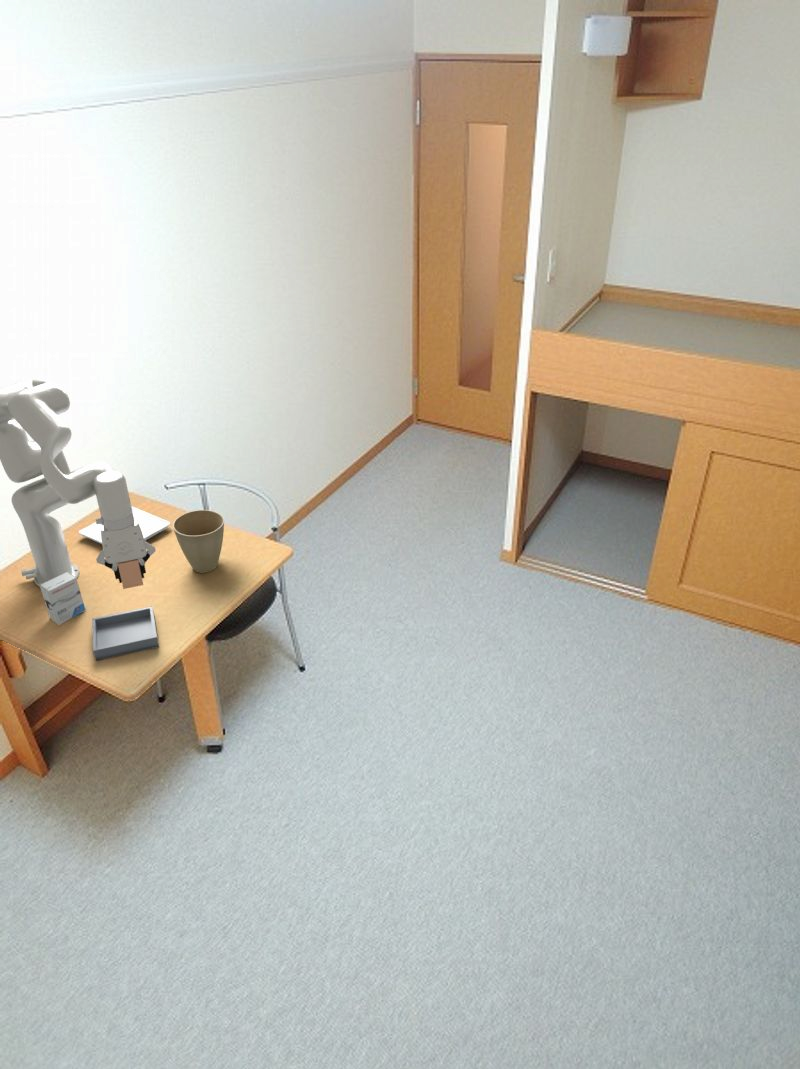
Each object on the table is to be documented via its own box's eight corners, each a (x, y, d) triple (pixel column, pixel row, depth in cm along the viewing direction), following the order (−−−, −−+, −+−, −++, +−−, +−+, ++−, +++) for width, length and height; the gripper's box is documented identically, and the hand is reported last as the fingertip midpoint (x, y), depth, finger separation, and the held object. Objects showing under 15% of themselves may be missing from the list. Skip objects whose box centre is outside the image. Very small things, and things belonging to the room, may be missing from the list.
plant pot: (192, 586, 224) (184, 541, 215) (173, 562, 234) (165, 519, 225) (238, 569, 231) (232, 525, 223) (217, 547, 241) (211, 504, 233)
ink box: (76, 603, 216) (67, 570, 210) (86, 610, 214) (76, 577, 207) (49, 618, 211) (38, 584, 204) (58, 625, 208) (47, 591, 202)
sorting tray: (95, 660, 196) (93, 650, 194) (94, 628, 207) (91, 618, 205) (159, 647, 201) (156, 637, 199) (154, 615, 212) (152, 606, 210)
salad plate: (173, 530, 251) (172, 521, 249) (123, 560, 235) (121, 551, 234) (130, 512, 260) (128, 503, 258) (78, 540, 245) (76, 531, 243)
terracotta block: (123, 589, 196) (117, 564, 192) (121, 578, 200) (116, 553, 196) (143, 584, 198) (137, 560, 194) (141, 574, 202) (136, 550, 197)
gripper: (82, 533, 183) (98, 592, 193) (154, 520, 188) (166, 578, 198) (81, 518, 189) (96, 576, 199) (151, 506, 194) (162, 563, 204)
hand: (131, 577), depth 198 cm, fingers closed on terracotta block, 5 cm apart
